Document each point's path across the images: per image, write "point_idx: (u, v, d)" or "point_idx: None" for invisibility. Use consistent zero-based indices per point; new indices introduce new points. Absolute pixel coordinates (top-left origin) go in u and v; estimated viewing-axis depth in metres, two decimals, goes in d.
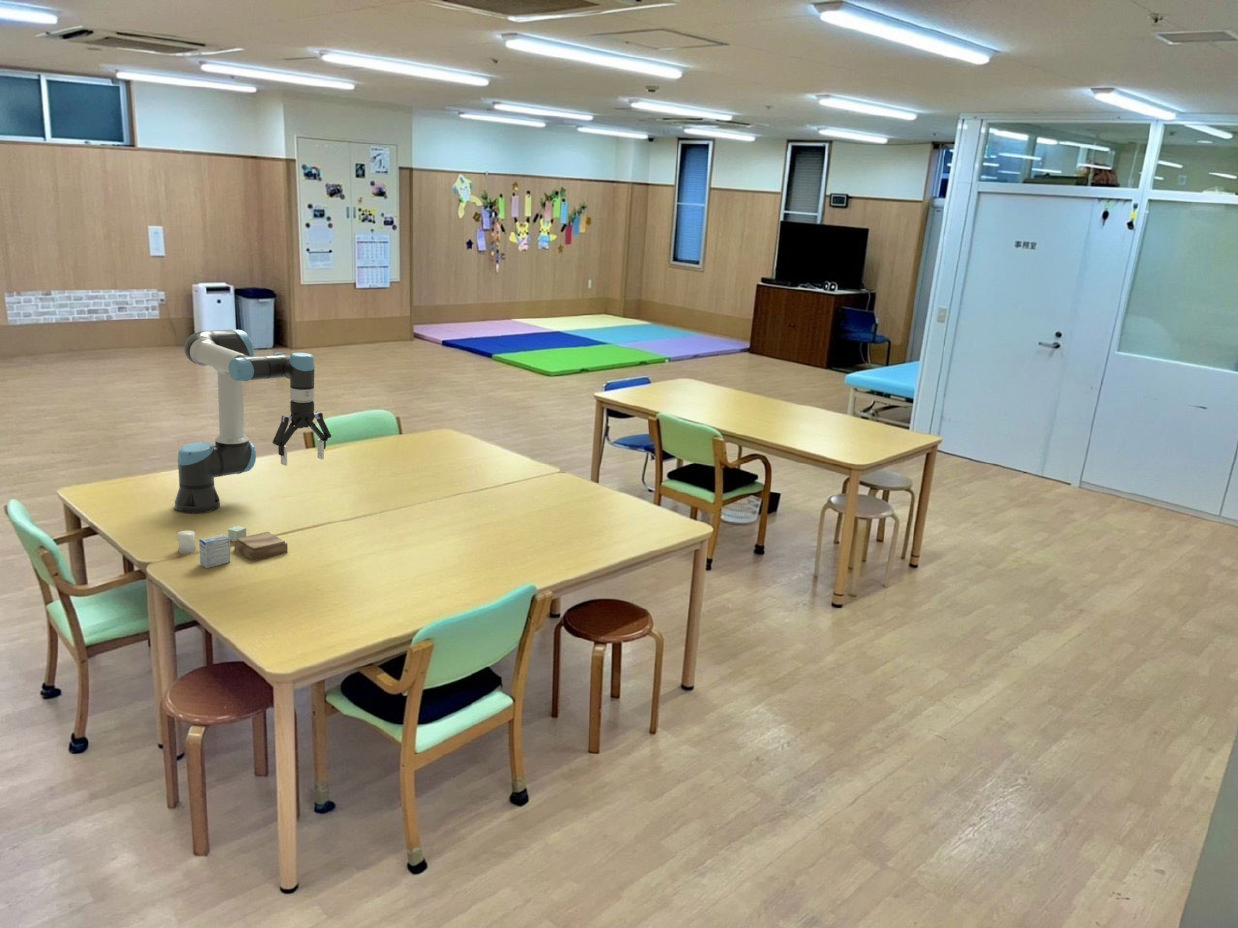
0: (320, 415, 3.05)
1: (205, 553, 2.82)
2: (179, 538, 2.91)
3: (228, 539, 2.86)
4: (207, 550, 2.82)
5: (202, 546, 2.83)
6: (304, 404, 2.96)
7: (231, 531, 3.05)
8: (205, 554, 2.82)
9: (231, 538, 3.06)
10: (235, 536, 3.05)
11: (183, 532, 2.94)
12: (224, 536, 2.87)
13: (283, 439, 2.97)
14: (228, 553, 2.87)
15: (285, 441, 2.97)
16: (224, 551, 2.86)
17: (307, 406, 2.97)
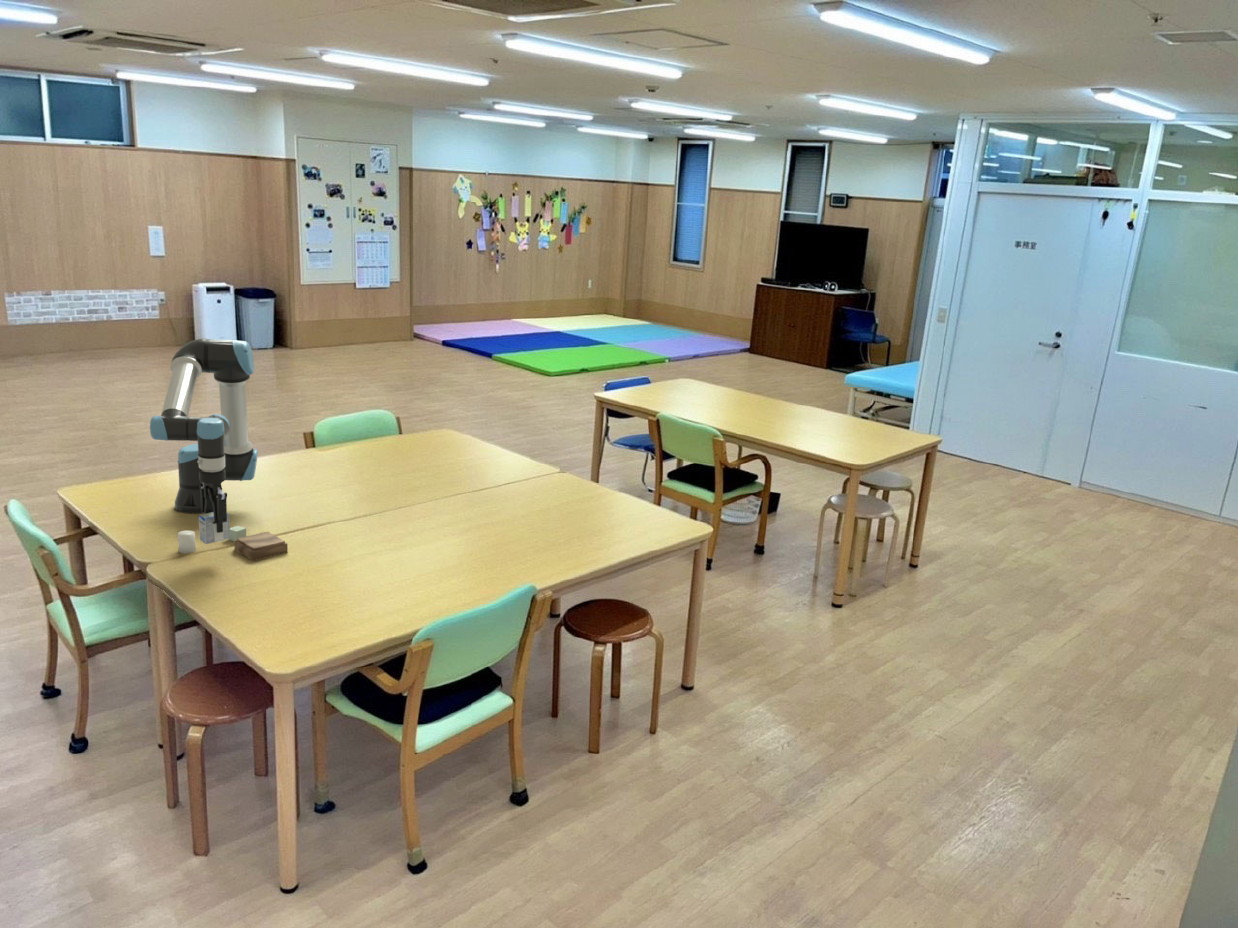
0: (218, 495, 2.76)
1: (204, 529, 2.80)
2: (179, 538, 2.91)
3: (228, 515, 2.84)
4: (206, 526, 2.80)
5: (201, 522, 2.81)
6: (199, 471, 2.77)
7: (231, 531, 3.05)
8: (204, 530, 2.80)
9: (231, 538, 3.06)
10: (235, 536, 3.05)
11: (183, 532, 2.94)
12: None
13: None
14: (228, 529, 2.86)
15: (205, 510, 2.84)
16: (224, 527, 2.84)
17: (199, 473, 2.76)
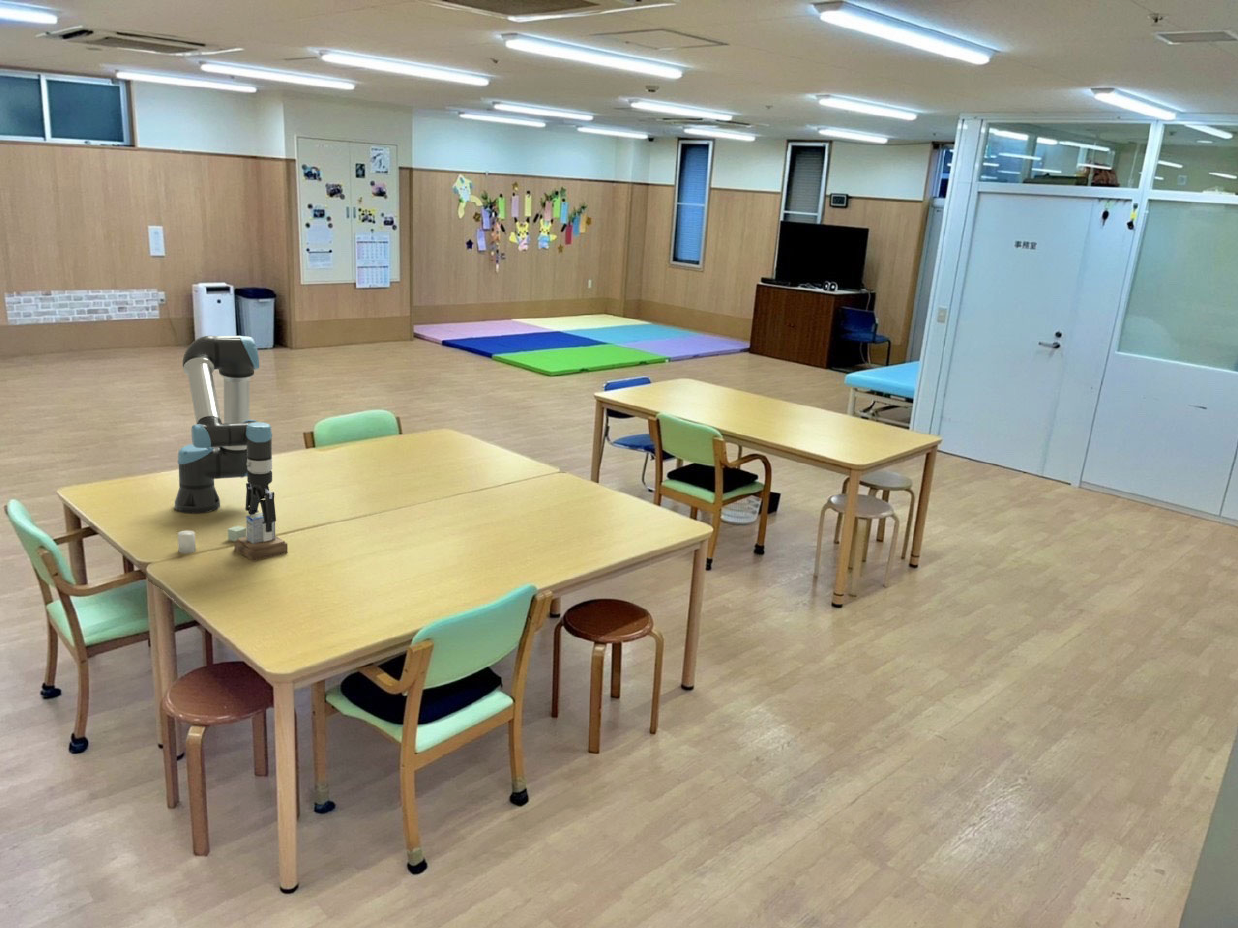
0: (266, 495, 2.89)
1: (252, 529, 2.93)
2: (179, 538, 2.91)
3: None
4: (254, 526, 2.93)
5: (248, 523, 2.94)
6: (247, 473, 2.90)
7: (231, 531, 3.05)
8: (252, 530, 2.93)
9: (231, 538, 3.06)
10: (235, 536, 3.05)
11: (183, 532, 2.94)
12: None
13: None
14: (273, 530, 2.99)
15: (249, 509, 2.98)
16: None
17: (248, 475, 2.90)
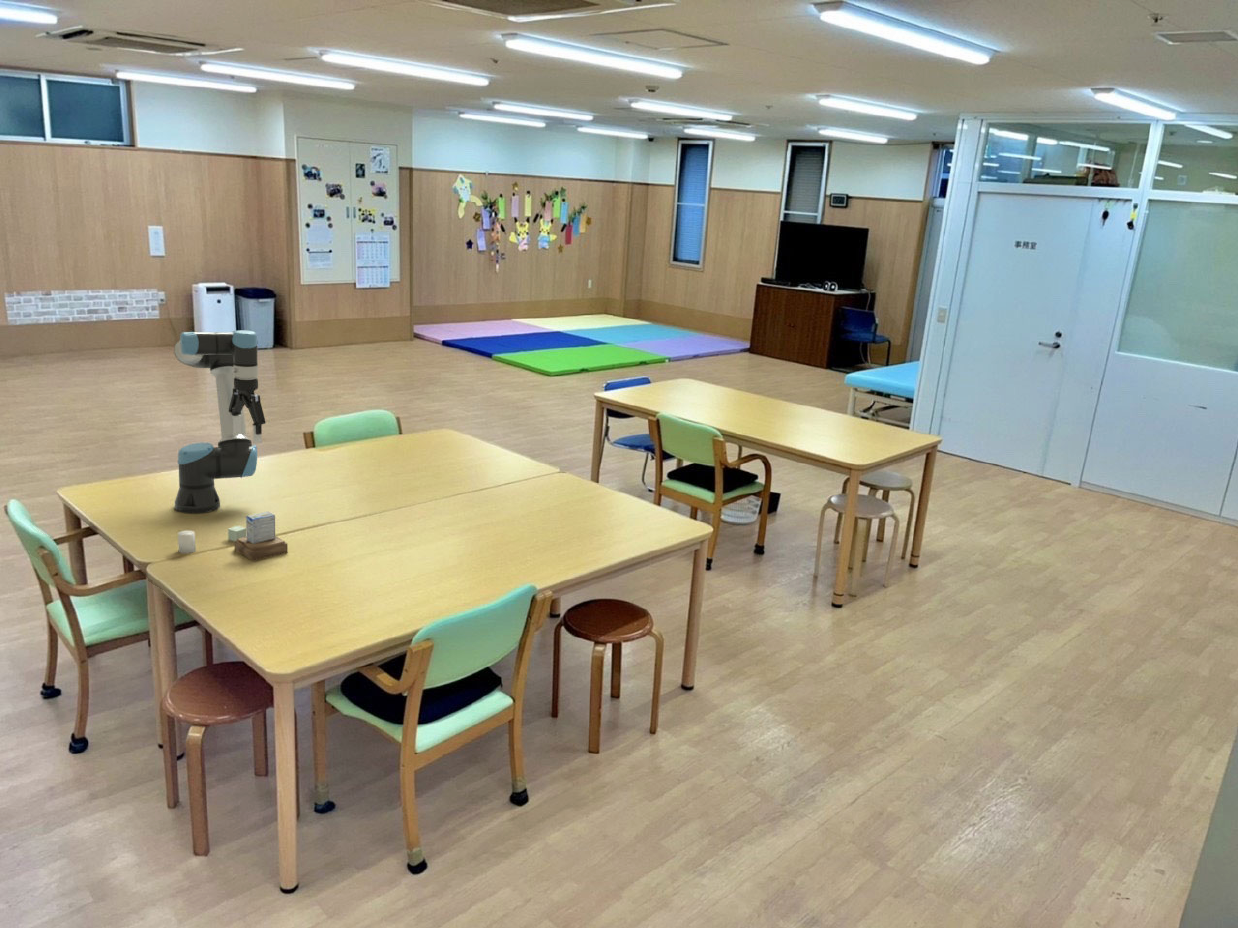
0: (251, 397, 3.00)
1: (252, 529, 2.93)
2: (179, 538, 2.91)
3: (273, 516, 2.98)
4: (254, 526, 2.93)
5: (248, 523, 2.94)
6: (234, 379, 3.01)
7: (231, 531, 3.05)
8: (252, 530, 2.93)
9: (231, 538, 3.06)
10: (235, 536, 3.05)
11: (183, 532, 2.94)
12: (270, 513, 2.98)
13: None
14: (273, 530, 2.99)
15: (233, 411, 3.10)
16: (270, 528, 2.98)
17: (234, 381, 3.01)
